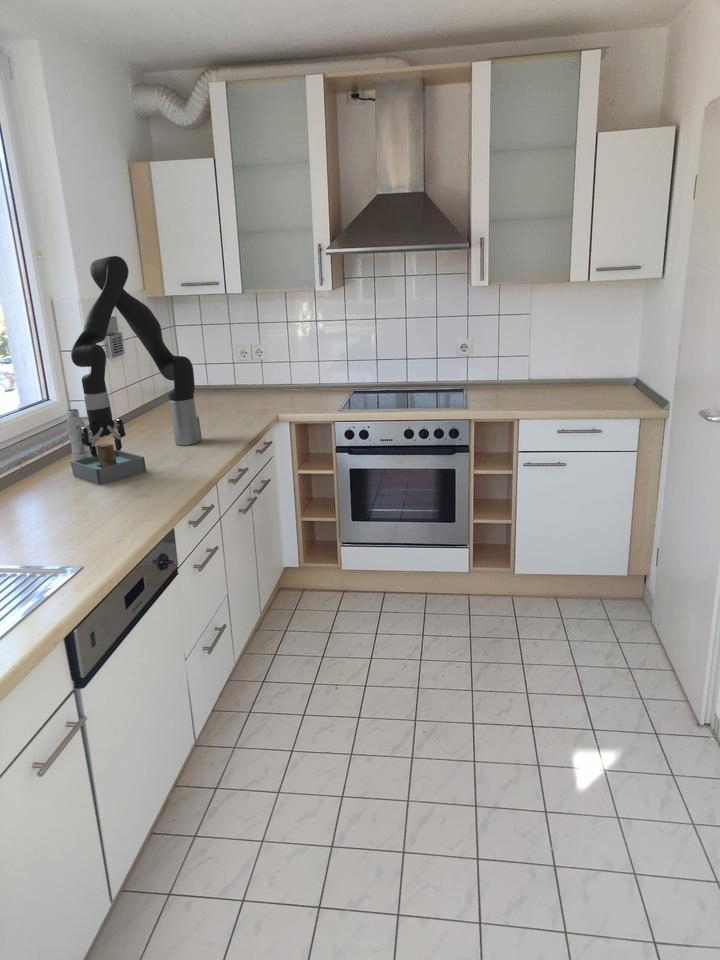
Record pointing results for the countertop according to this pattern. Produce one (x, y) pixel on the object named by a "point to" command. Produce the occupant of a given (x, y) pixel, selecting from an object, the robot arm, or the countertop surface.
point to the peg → (106, 455)
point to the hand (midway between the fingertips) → (106, 453)
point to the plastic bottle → (76, 435)
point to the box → (108, 467)
